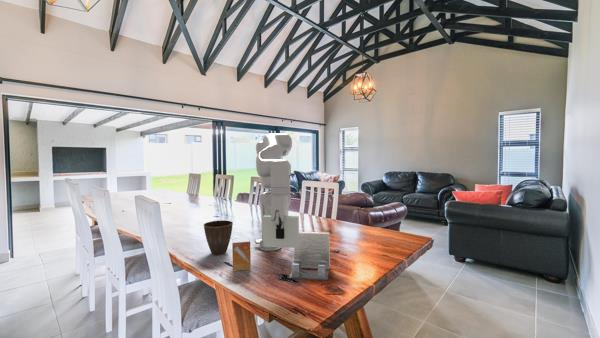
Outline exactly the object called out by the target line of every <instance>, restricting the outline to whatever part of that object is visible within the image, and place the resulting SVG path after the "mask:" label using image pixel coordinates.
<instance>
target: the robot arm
mask: <svg viewBox="0 0 600 338" xmlns="http://www.w3.org/2000/svg"><path fill="white" fill-rule="evenodd" d="M292 148H293V139H292V136H291V135H289V134H288V133H268V134H266V135H264V136H263V138H262V141H258V142H257V143H256V146H255V151H256V158H255V167H256V172H257V175H258V176H259V177H260V179H261V182H260V183H261V187H262V188H263V189H264V190H270V191H264V192H261V193H260V194H259V197H258V200H259V207H260V219H261V221H260V222H261V224H260V225H261V226H260V227H261V239H255V240H254V243H255V245H258V247H259V248H258V249H259V250H261V251H265V252H273V251H277V250H280V249H281V248H282V247H263V216H264V215H271V221H274V220H275V225H276V239H284V228H283V221H284V220H285V217H286V216H289V208H290V206H291V202H292V201H291V198H292V197H291V177H290V174H291V171H292V170H291V169H292V166H291V163H290V161H289V159H288V160H287V159H285V158H282V157H287V156H288V155H289V154H290V152H291V150H292ZM281 158H282V159H281ZM275 217H276V218H275ZM279 219H281V221H280V220H279Z"/></svg>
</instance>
